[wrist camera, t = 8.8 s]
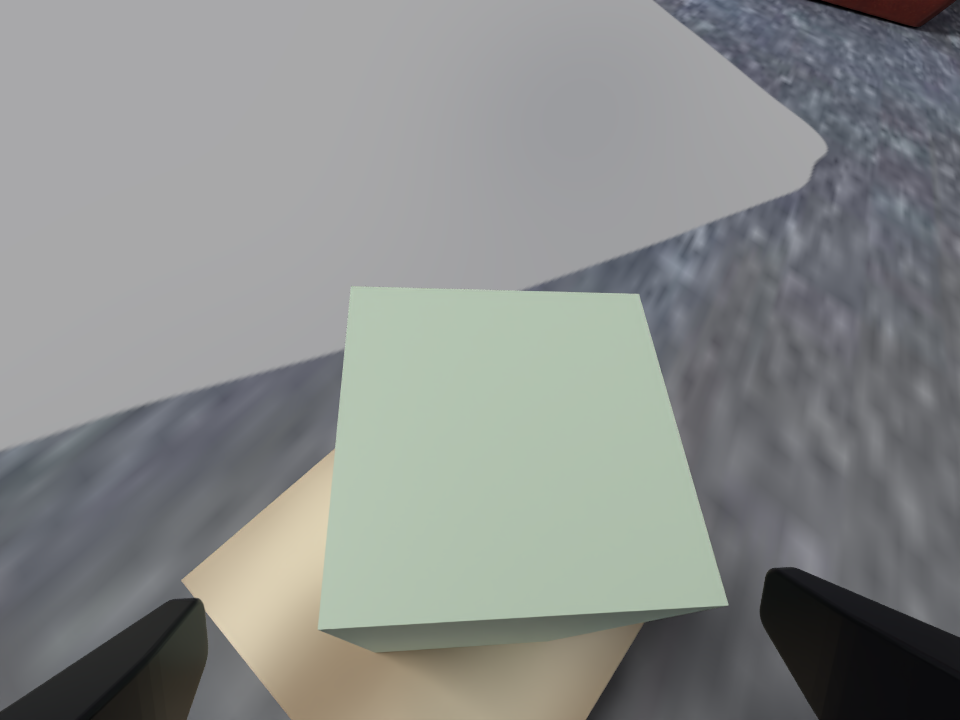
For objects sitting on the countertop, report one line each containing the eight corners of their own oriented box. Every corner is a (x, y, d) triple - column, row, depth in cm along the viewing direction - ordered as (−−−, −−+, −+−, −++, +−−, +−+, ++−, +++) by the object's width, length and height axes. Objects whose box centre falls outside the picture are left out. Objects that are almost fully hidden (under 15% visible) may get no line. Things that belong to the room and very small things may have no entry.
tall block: (547, 641, 15) (728, 605, 6) (374, 652, 14) (317, 630, 6) (528, 476, 17) (639, 294, 9) (382, 480, 17) (351, 286, 8)
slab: (660, 551, 19) (697, 534, 17) (450, 883, 14) (458, 930, 11) (455, 377, 22) (460, 341, 20) (215, 593, 17) (181, 580, 14)
